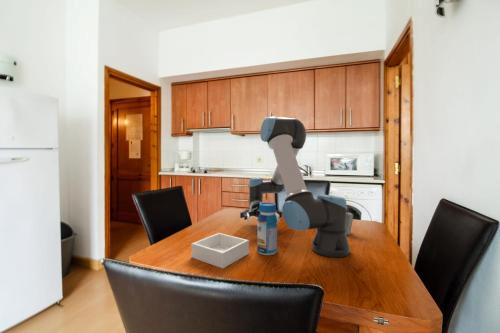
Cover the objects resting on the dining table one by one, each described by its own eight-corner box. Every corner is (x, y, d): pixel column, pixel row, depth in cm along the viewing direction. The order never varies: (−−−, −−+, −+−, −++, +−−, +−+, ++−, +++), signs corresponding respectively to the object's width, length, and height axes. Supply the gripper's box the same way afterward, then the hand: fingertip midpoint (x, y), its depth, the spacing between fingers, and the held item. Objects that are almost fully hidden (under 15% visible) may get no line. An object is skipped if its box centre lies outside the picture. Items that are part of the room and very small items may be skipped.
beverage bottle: (276, 256, 98) (277, 206, 97) (255, 255, 99) (255, 205, 98) (277, 248, 106) (278, 202, 105) (258, 247, 107) (258, 201, 106)
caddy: (248, 253, 100) (248, 240, 100) (222, 268, 87) (222, 253, 87) (219, 245, 110) (219, 232, 109) (191, 257, 96) (191, 243, 96)
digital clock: (319, 228, 135) (319, 209, 135) (330, 226, 140) (331, 207, 139) (344, 237, 121) (344, 215, 121) (356, 234, 126) (356, 213, 125)
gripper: (280, 215, 134) (290, 226, 113) (234, 215, 132) (235, 227, 111) (280, 201, 134) (291, 210, 113) (234, 201, 131) (236, 211, 110)
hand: (263, 219), depth 112 cm, fingers open, 13 cm apart
